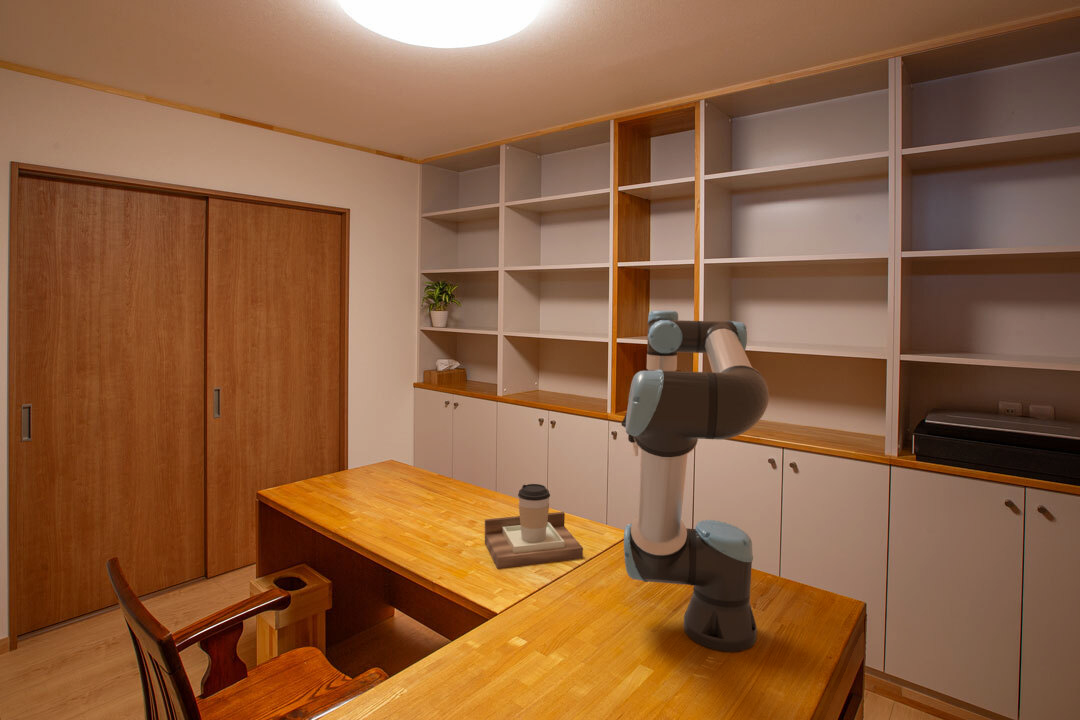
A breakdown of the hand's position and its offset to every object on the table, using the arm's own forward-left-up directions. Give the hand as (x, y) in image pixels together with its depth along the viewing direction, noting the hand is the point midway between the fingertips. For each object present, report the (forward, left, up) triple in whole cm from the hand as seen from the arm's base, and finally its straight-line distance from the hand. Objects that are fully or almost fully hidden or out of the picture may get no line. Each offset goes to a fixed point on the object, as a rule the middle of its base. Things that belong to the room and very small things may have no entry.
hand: (658, 453), depth 154 cm
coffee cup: (+20, +28, -28) cm, 44 cm away
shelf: (+20, +28, -32) cm, 47 cm away
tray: (+20, +28, -29) cm, 45 cm away
